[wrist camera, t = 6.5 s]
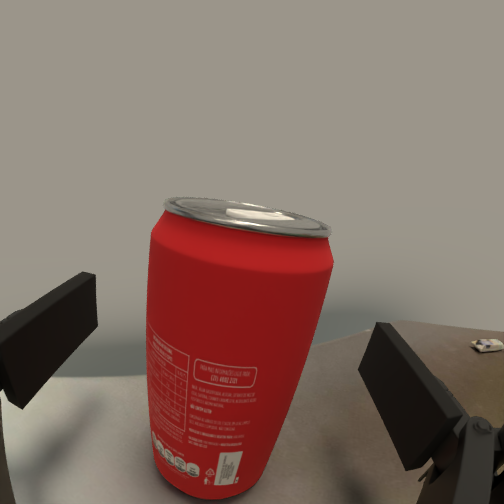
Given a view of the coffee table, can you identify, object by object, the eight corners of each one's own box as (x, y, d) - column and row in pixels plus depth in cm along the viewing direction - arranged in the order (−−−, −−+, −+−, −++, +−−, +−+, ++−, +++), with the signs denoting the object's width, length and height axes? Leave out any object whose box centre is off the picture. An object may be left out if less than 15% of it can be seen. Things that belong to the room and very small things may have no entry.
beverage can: (138, 443, 11) (132, 191, 8) (221, 417, 14) (258, 202, 11) (190, 523, 7) (221, 231, 4) (281, 477, 11) (373, 236, 8)
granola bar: (495, 343, 27) (498, 337, 26) (504, 351, 24) (507, 344, 24) (469, 345, 26) (472, 337, 26) (478, 353, 24) (482, 346, 24)
